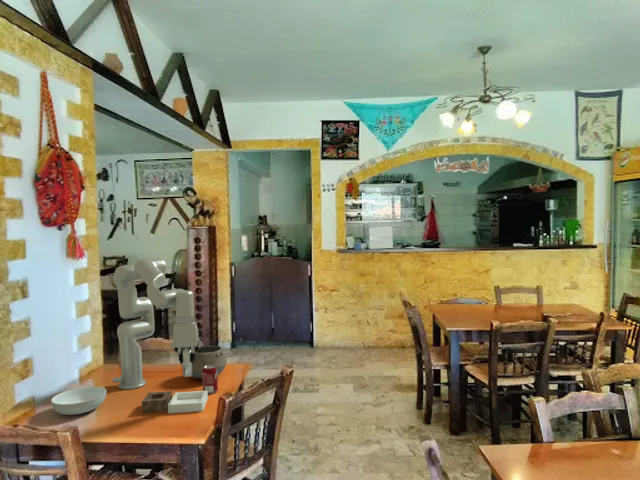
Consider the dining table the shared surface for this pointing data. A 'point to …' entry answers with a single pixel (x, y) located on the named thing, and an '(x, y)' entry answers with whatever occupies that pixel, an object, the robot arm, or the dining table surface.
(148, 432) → the dining table surface
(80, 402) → the serving bowl
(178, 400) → the grey tray
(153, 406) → the walnut block
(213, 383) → the soda can
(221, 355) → the clay pot
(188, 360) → the metal pin
